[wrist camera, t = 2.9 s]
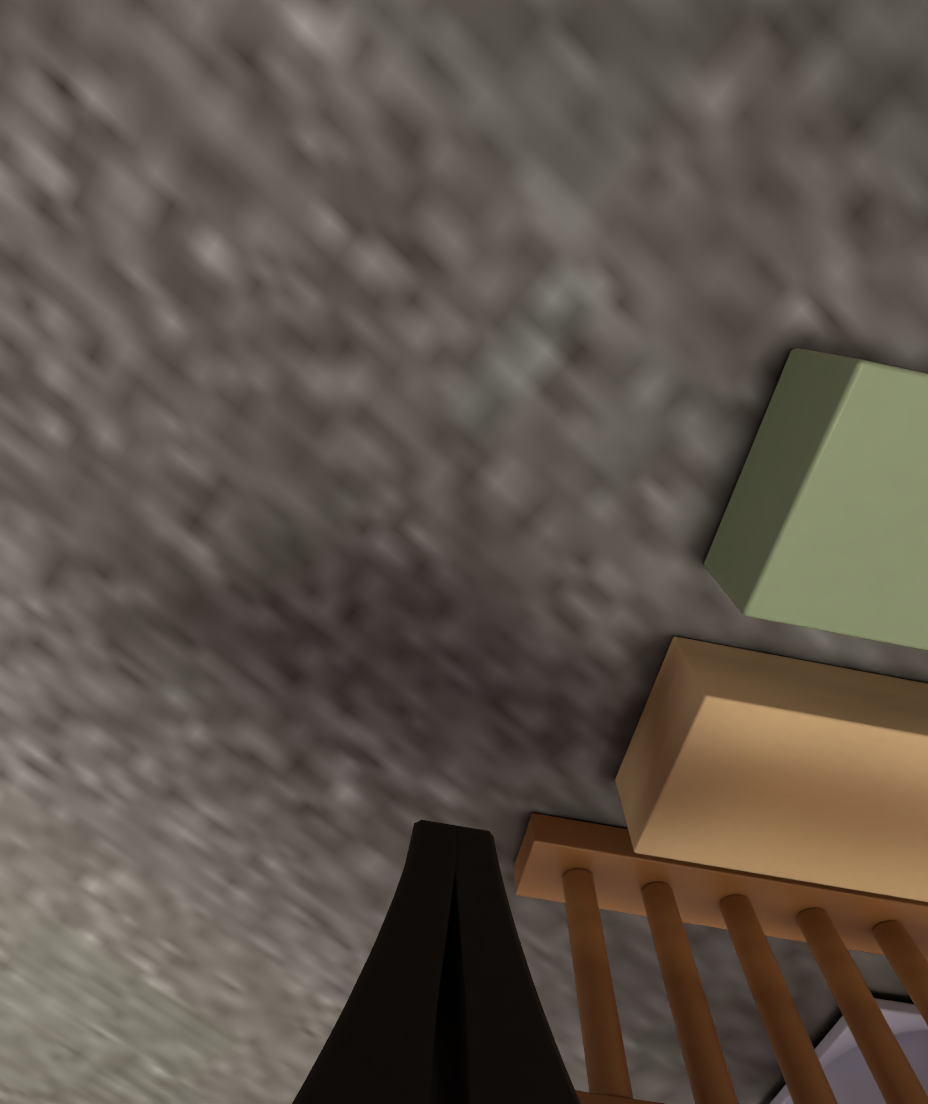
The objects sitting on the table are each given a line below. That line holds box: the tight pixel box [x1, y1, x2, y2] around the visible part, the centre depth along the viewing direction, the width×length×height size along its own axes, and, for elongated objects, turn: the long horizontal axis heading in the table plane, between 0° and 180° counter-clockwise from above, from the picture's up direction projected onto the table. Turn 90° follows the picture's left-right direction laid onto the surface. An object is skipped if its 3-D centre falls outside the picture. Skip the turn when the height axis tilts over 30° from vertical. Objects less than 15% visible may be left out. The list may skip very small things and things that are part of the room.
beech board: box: [615, 637, 928, 902], centre depth 15 cm, size 5×14×2 cm, turn 79°
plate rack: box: [514, 813, 928, 1104], centre depth 15 cm, size 2×20×7 cm, turn 79°
